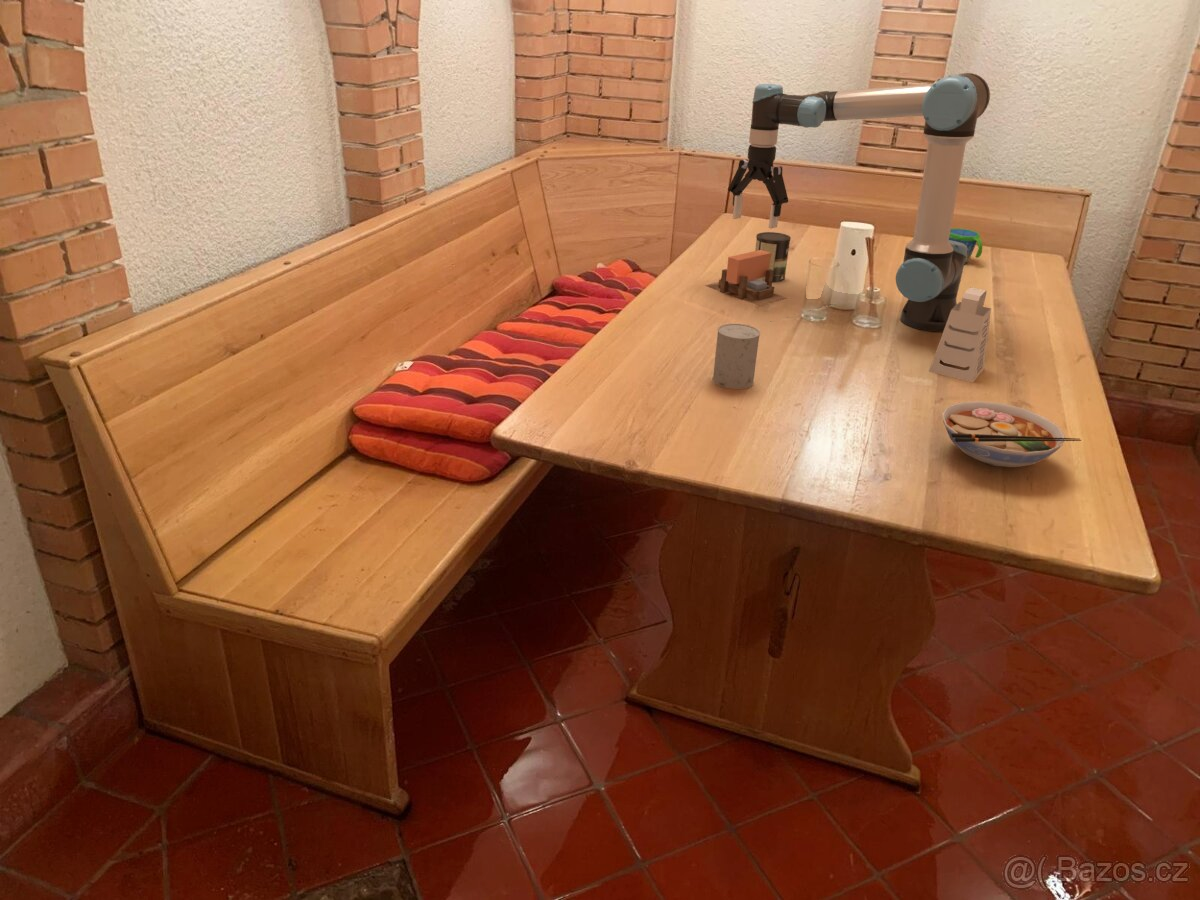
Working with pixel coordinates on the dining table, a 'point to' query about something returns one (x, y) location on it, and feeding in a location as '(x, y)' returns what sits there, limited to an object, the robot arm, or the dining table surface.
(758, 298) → the jig
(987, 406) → the ramen bowl
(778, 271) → the coffee can
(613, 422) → the dining table surface
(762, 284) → the blue-grey block
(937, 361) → the grater
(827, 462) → the dining table surface
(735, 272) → the orange block
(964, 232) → the snack cup
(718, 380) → the grey concrete cylinder
